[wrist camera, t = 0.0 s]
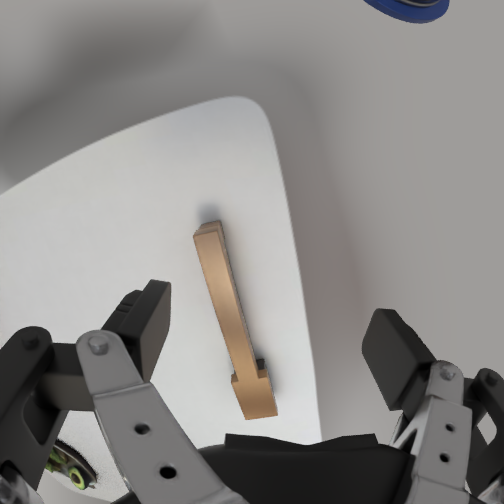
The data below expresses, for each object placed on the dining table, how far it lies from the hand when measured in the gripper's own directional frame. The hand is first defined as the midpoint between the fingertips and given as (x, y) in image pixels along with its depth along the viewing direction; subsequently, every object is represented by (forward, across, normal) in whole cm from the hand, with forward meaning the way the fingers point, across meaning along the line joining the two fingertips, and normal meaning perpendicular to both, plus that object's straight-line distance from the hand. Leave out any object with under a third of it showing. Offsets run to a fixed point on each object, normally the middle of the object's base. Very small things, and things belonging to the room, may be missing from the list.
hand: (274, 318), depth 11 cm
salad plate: (+14, +32, +51) cm, 62 cm away
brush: (+13, 0, +9) cm, 16 cm away
